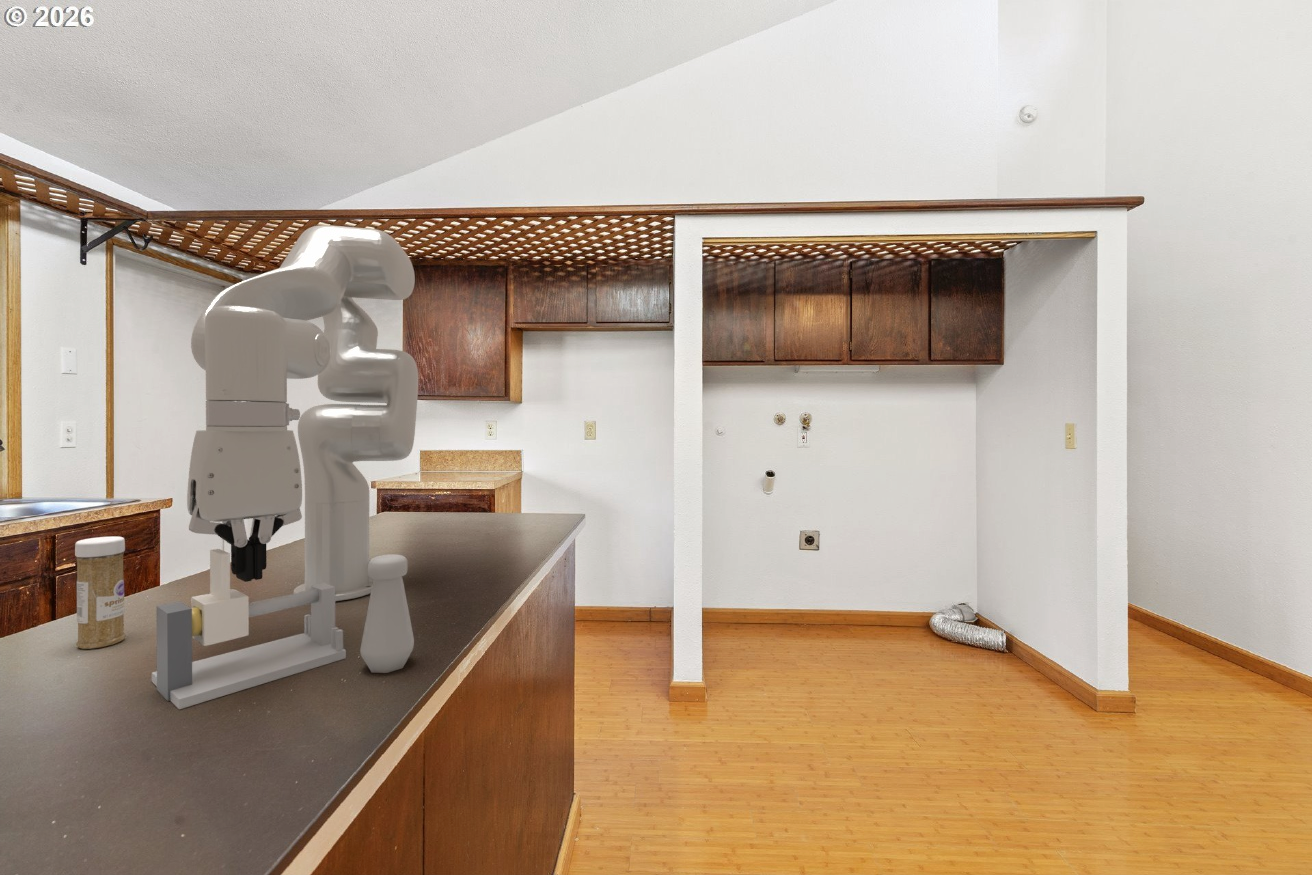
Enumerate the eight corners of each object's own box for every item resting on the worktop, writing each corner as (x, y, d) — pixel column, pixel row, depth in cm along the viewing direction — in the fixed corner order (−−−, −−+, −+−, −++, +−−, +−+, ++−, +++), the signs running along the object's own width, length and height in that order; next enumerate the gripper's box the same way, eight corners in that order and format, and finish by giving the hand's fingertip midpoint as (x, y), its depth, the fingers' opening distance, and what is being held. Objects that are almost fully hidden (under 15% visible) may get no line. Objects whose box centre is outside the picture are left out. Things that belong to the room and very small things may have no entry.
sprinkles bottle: (121, 645, 73) (120, 539, 72) (70, 652, 70) (69, 543, 70) (129, 634, 76) (128, 534, 76) (81, 640, 74) (80, 537, 74)
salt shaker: (362, 659, 69) (362, 552, 69) (413, 652, 71) (414, 549, 71) (358, 679, 64) (358, 563, 63) (414, 671, 66) (414, 559, 66)
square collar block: (234, 626, 66) (234, 545, 66) (248, 635, 64) (248, 551, 63) (191, 636, 63) (190, 551, 63) (204, 646, 60) (204, 557, 60)
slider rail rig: (312, 638, 76) (312, 570, 76) (348, 657, 70) (348, 583, 70) (149, 682, 62) (148, 600, 62) (176, 710, 56) (176, 619, 56)
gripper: (304, 418, 73) (305, 560, 74) (152, 417, 61) (154, 587, 62) (332, 419, 69) (332, 570, 69) (174, 417, 57) (177, 601, 57)
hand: (249, 578), depth 65 cm, fingers closed
